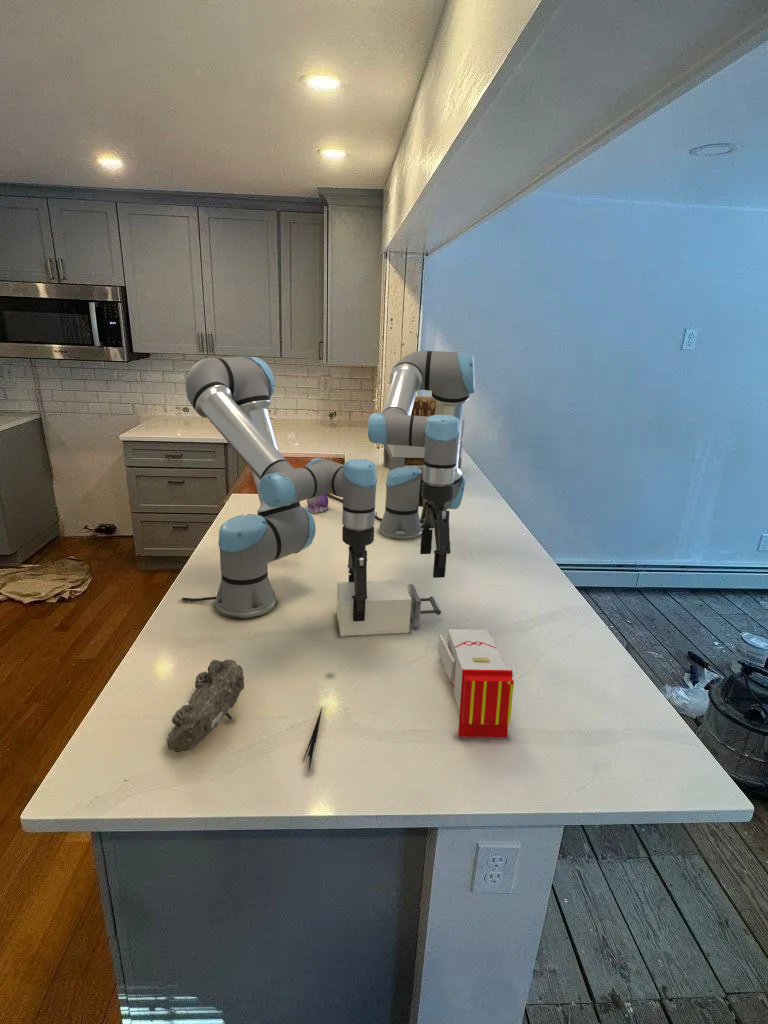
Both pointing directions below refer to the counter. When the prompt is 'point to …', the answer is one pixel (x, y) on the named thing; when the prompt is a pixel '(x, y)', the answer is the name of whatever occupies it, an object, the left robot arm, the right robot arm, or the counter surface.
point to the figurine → (318, 504)
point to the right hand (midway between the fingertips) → (431, 564)
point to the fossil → (206, 705)
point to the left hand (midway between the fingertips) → (356, 608)
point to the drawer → (417, 605)
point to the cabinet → (375, 608)
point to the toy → (478, 682)
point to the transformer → (410, 454)
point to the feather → (313, 740)
